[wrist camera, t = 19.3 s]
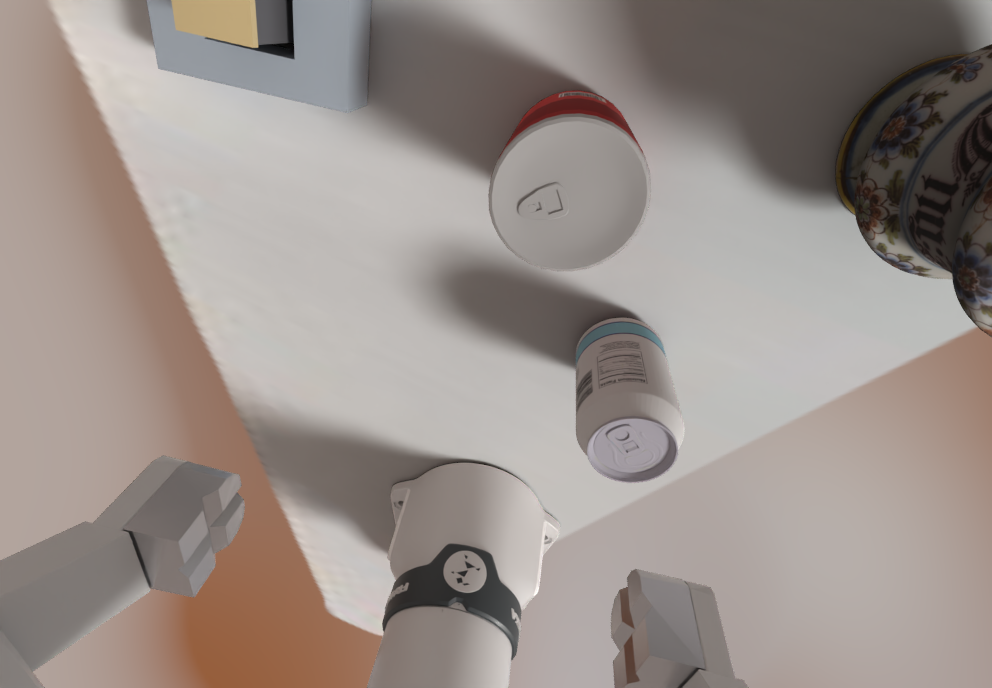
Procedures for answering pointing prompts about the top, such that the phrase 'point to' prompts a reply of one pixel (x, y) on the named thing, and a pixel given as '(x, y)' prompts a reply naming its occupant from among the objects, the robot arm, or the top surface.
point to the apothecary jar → (928, 175)
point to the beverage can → (626, 402)
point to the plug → (237, 20)
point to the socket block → (280, 55)
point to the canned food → (570, 184)
